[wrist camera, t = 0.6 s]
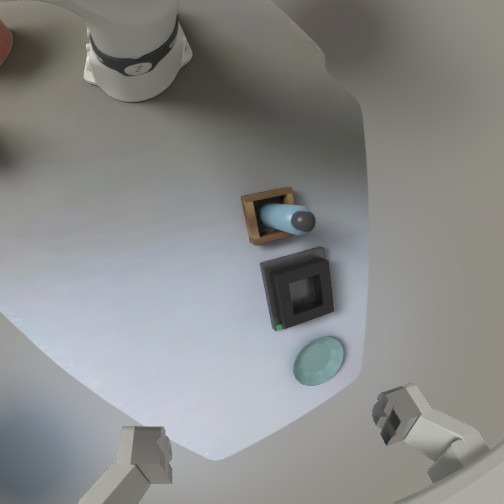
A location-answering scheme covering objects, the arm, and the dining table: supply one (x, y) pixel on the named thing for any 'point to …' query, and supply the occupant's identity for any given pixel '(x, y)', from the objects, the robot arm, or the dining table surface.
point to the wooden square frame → (251, 217)
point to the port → (297, 287)
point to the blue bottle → (286, 217)
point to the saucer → (318, 361)
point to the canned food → (5, 42)
